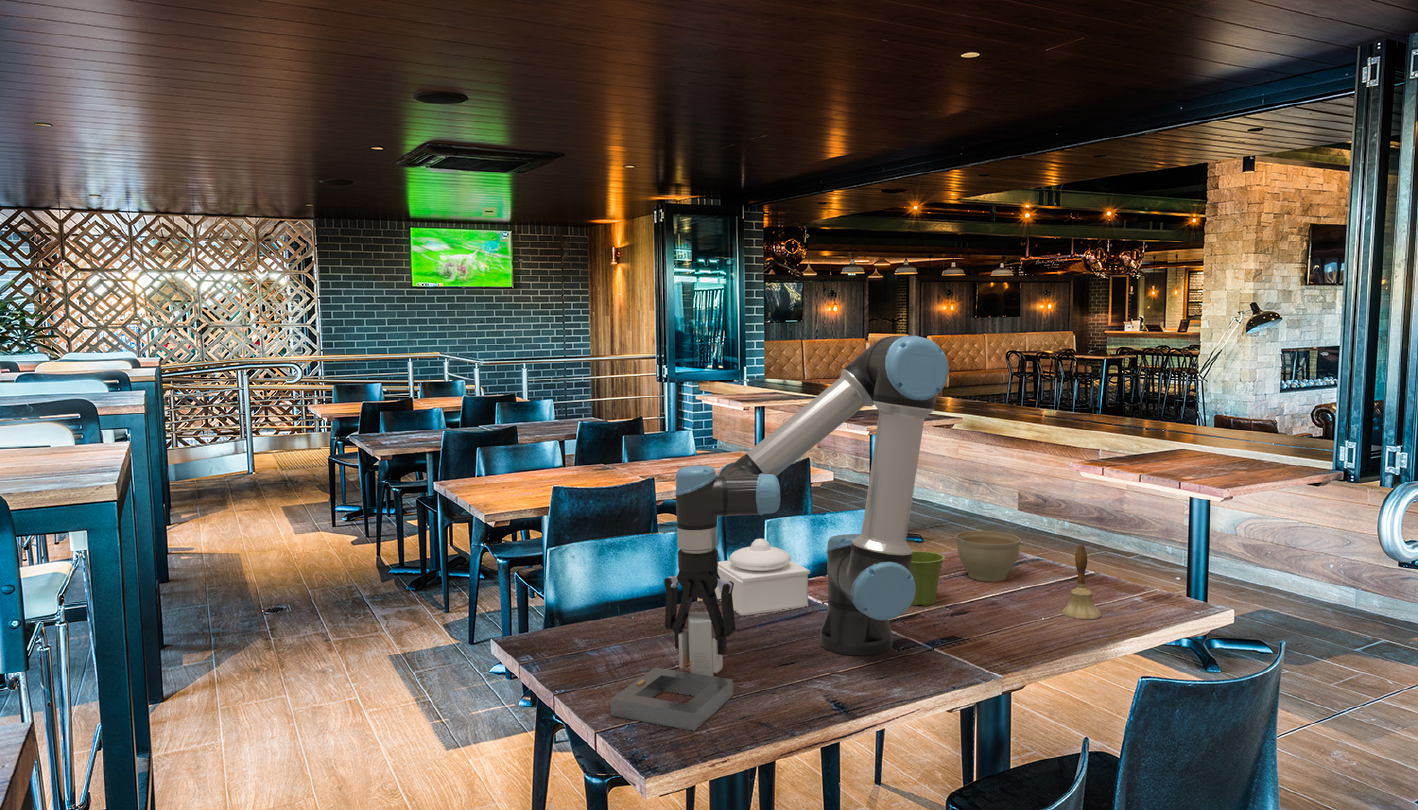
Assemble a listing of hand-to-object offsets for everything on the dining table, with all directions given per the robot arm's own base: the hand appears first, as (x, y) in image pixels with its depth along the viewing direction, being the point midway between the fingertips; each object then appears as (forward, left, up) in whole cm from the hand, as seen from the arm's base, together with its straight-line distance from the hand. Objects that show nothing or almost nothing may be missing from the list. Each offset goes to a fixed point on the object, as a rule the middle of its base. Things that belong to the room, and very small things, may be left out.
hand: (701, 667), depth 173 cm
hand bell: (-64, -68, -2) cm, 93 cm away
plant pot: (-28, -64, -2) cm, 70 cm away
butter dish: (+8, -51, -3) cm, 52 cm away
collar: (-1, +13, -2) cm, 13 cm away
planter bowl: (-40, -92, -2) cm, 100 cm away
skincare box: (0, 0, -2) cm, 2 cm away
